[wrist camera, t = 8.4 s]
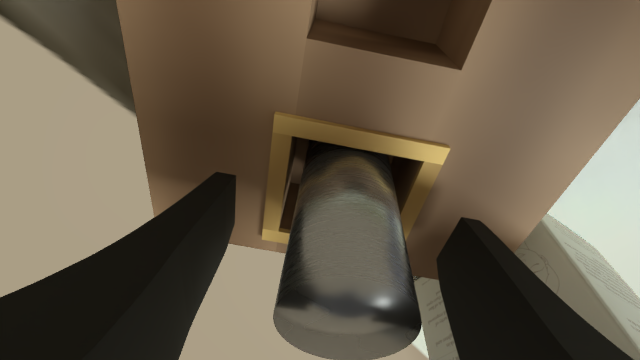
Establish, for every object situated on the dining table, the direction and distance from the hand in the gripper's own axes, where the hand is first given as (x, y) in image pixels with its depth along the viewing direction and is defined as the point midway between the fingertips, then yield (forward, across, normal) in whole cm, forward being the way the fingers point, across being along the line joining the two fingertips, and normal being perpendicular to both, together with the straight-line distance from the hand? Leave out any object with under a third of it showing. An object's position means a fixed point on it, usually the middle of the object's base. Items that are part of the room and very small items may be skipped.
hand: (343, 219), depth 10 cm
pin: (+4, 0, 0) cm, 4 cm away
